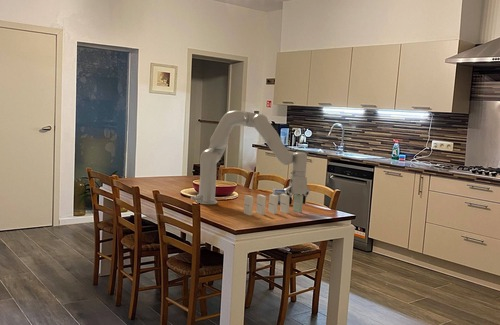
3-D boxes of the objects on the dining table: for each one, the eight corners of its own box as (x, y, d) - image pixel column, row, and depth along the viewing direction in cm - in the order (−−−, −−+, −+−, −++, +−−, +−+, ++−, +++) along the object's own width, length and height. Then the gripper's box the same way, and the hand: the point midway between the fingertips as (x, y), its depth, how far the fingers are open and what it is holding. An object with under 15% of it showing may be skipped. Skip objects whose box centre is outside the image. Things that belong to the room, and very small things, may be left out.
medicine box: (273, 203, 301) (274, 189, 300) (271, 202, 305) (272, 188, 304) (285, 203, 302) (287, 190, 302) (284, 202, 307) (285, 188, 306)
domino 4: (285, 213, 273) (286, 195, 271) (279, 211, 278) (280, 193, 277) (288, 213, 274) (289, 195, 272) (282, 210, 279) (283, 193, 278)
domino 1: (248, 215, 260) (250, 196, 259) (243, 213, 266) (244, 194, 265) (252, 215, 261) (253, 196, 260) (246, 212, 267) (247, 194, 266)
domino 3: (273, 214, 269) (275, 196, 268) (268, 211, 274) (269, 194, 273) (277, 213, 270) (278, 196, 269) (271, 211, 275) (272, 194, 274)
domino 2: (261, 214, 265) (263, 196, 264) (255, 212, 270) (257, 194, 269) (264, 214, 266) (266, 196, 265) (259, 212, 271) (260, 194, 270)
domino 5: (298, 212, 277) (300, 195, 276) (292, 210, 282) (294, 193, 281) (301, 212, 278) (303, 195, 277) (295, 210, 283) (297, 193, 282)
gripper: (290, 175, 270) (287, 205, 272) (315, 175, 279) (312, 204, 281) (282, 173, 276) (280, 202, 278) (307, 173, 285) (304, 202, 287)
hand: (296, 203), depth 279 cm, fingers open, 9 cm apart
